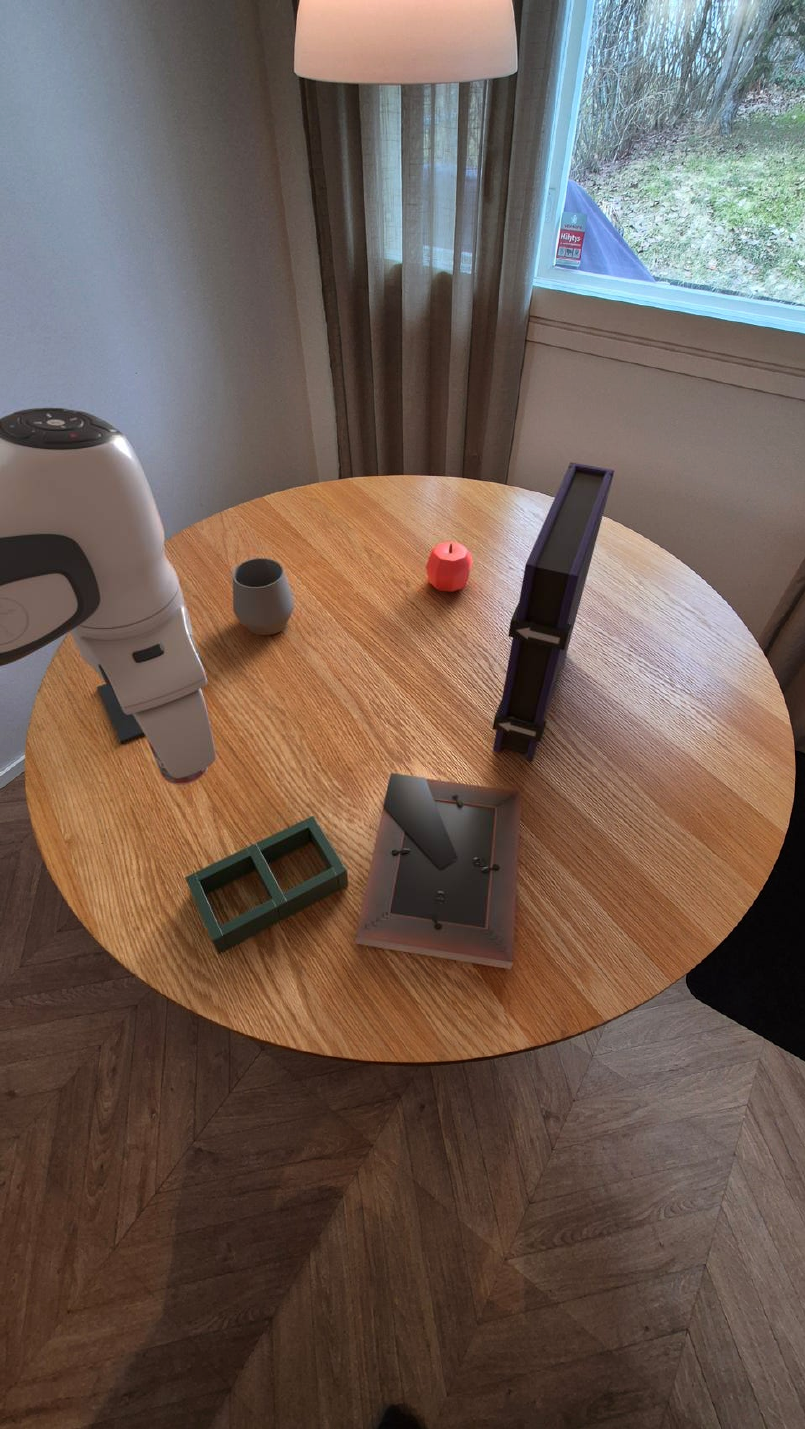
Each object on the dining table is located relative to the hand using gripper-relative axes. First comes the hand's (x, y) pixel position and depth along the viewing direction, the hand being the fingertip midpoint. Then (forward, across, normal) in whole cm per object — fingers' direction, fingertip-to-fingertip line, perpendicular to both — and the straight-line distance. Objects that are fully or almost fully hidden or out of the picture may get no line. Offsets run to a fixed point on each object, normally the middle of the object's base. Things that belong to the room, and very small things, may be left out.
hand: (173, 733), depth 63 cm
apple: (+21, -30, +52) cm, 64 cm away
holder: (+21, +8, +3) cm, 23 cm away
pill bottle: (+5, 0, 0) cm, 5 cm away
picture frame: (+21, +16, +22) cm, 34 cm away
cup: (+21, -35, +21) cm, 46 cm away
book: (+21, -1, +48) cm, 52 cm away
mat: (+21, -28, 0) cm, 35 cm away
